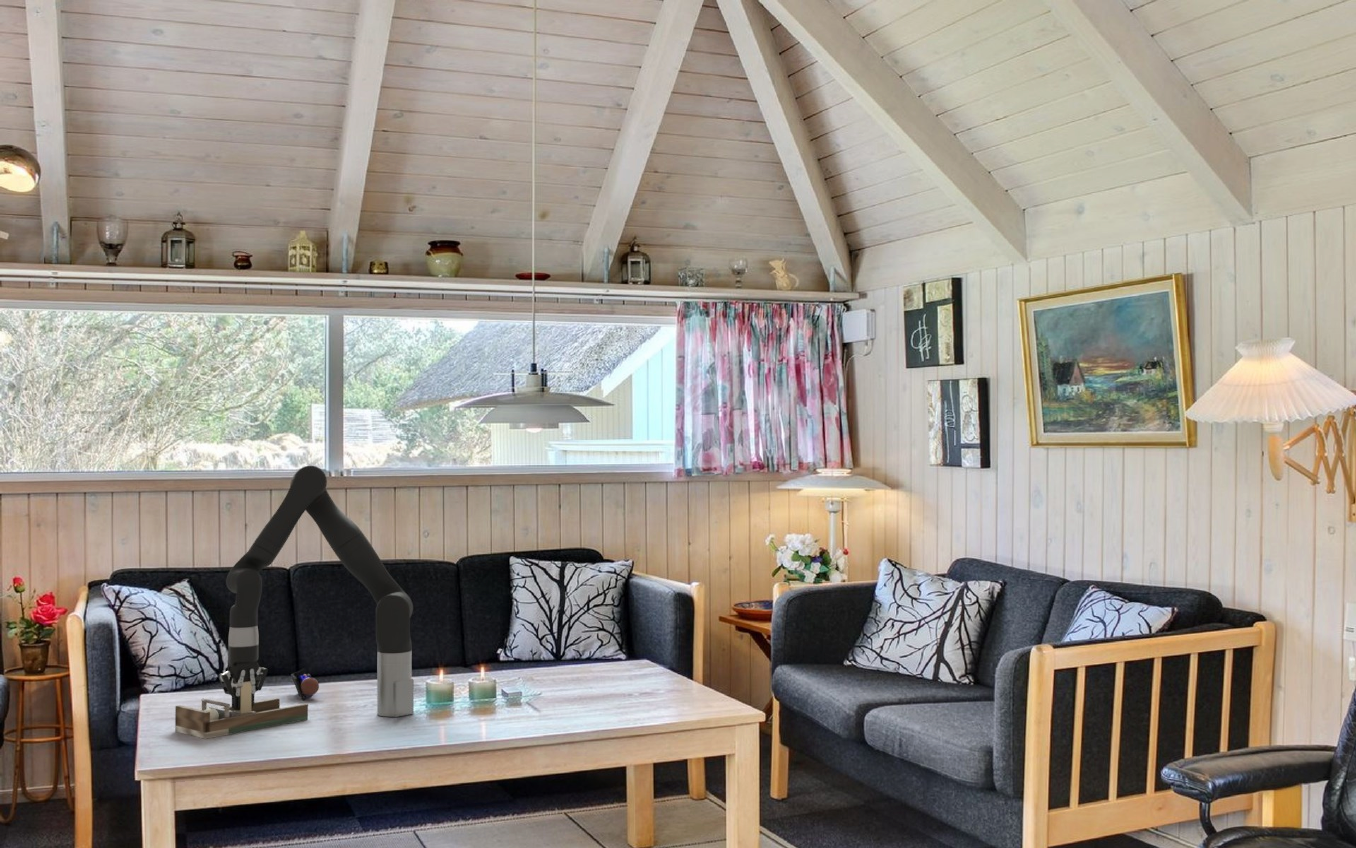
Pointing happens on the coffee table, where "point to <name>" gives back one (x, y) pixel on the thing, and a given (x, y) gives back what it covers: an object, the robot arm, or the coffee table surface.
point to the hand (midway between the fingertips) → (243, 708)
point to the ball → (213, 714)
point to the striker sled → (244, 702)
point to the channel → (235, 718)
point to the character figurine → (304, 683)
